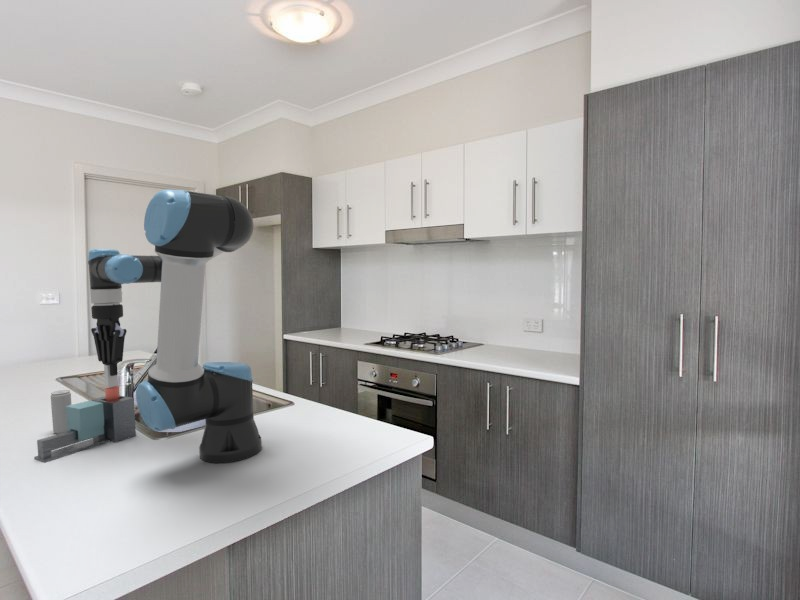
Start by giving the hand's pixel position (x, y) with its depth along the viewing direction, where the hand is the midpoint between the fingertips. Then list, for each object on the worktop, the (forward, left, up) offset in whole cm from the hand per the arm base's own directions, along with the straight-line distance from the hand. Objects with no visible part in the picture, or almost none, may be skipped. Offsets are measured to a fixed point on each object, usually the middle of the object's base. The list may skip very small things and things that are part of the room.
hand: (111, 386), depth 132 cm
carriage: (0, +8, -12) cm, 14 cm away
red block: (0, 0, -6) cm, 6 cm away
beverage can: (+19, +4, -15) cm, 24 cm away
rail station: (0, +8, -15) cm, 17 cm away
